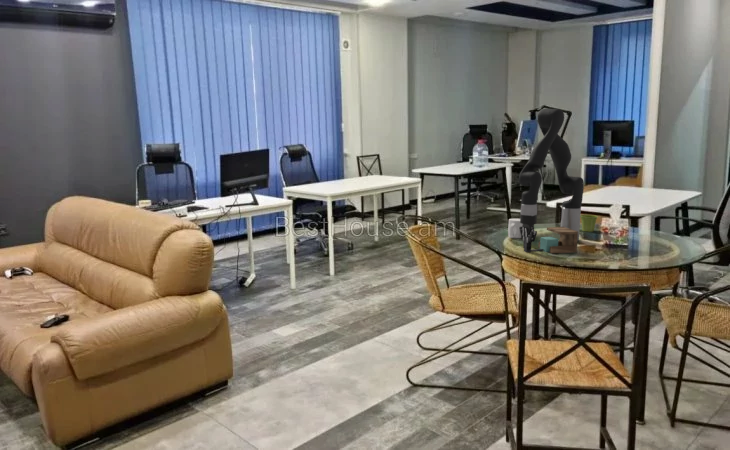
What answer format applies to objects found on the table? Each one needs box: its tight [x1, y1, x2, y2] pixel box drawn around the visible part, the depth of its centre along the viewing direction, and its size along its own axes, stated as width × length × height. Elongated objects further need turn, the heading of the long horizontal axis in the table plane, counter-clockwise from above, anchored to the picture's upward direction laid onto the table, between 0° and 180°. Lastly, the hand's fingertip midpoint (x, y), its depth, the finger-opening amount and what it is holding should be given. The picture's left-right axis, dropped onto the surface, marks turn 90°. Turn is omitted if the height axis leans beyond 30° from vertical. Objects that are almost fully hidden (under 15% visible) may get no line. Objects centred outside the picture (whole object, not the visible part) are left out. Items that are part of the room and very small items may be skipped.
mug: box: [507, 218, 523, 239], centre depth 301 cm, size 12×9×8 cm
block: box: [523, 236, 559, 253], centre depth 268 cm, size 6×15×7 cm, turn 101°
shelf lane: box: [537, 226, 578, 254], centre depth 269 cm, size 13×13×10 cm
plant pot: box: [580, 214, 599, 233], centre depth 317 cm, size 9×9×9 cm
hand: (527, 249), depth 267 cm, fingers closed on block, 2 cm apart
